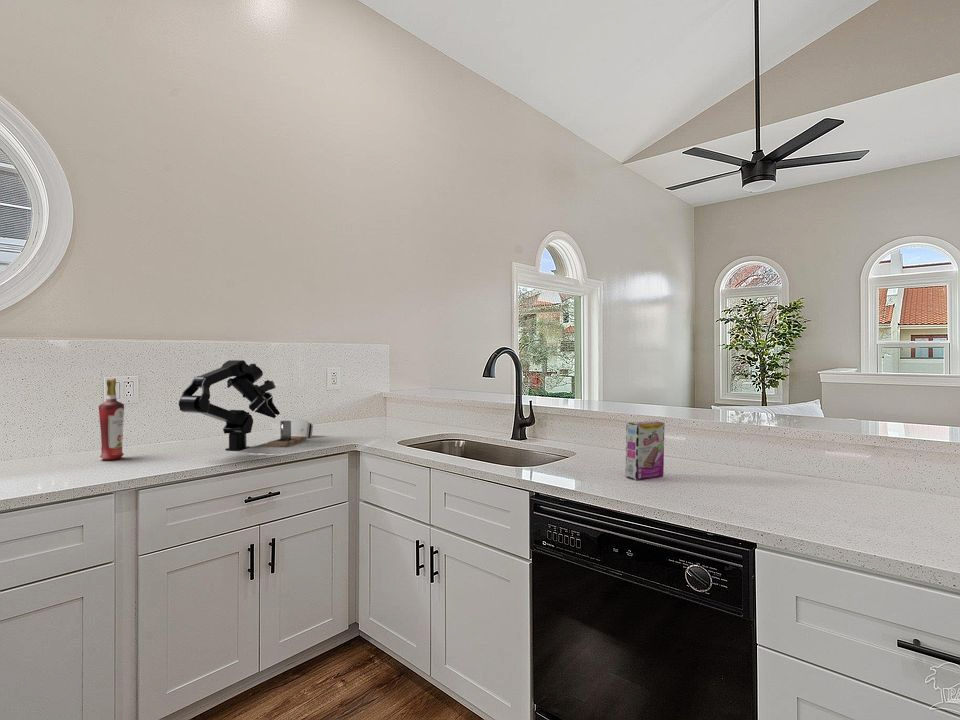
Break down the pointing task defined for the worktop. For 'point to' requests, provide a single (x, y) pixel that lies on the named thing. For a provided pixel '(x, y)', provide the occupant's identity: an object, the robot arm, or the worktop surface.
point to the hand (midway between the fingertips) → (277, 415)
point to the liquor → (111, 424)
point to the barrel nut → (285, 430)
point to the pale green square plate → (313, 444)
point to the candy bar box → (644, 450)
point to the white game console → (298, 428)
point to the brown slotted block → (286, 442)
